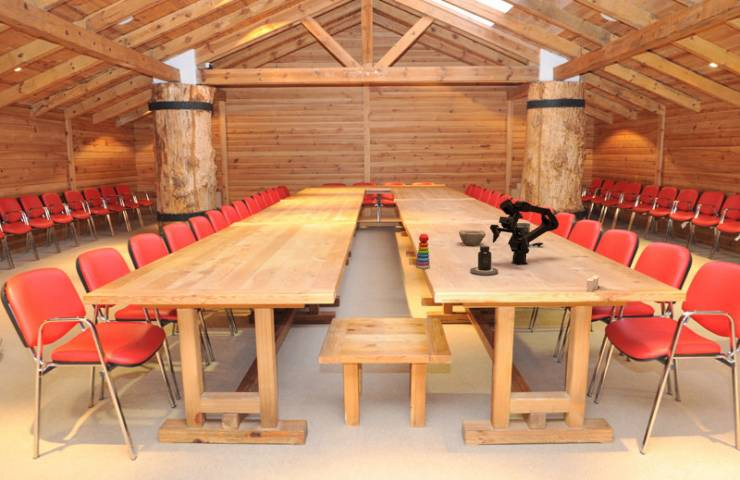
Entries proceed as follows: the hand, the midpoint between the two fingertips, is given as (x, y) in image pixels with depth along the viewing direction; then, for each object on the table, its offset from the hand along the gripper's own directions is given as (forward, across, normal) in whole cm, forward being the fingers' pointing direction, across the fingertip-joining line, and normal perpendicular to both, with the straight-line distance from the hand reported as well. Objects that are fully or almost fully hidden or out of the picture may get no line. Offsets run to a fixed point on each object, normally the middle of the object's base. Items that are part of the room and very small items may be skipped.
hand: (500, 243), depth 289 cm
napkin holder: (+17, +53, +3) cm, 56 cm away
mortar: (-25, -52, +45) cm, 73 cm away
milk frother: (-39, -22, +59) cm, 74 cm away
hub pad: (+20, 0, -2) cm, 20 cm away
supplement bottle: (+19, 0, -2) cm, 19 cm away
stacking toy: (+29, -30, -10) cm, 43 cm away
